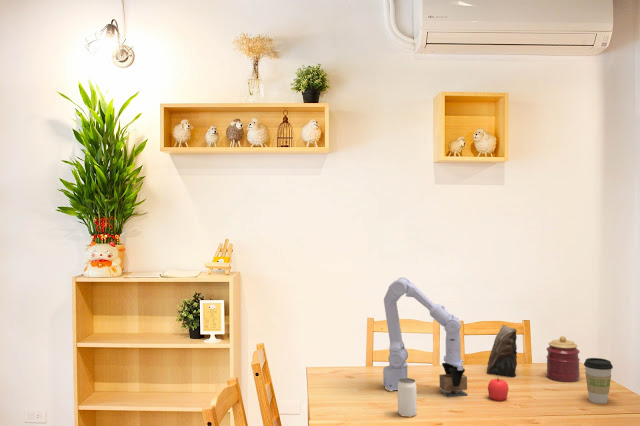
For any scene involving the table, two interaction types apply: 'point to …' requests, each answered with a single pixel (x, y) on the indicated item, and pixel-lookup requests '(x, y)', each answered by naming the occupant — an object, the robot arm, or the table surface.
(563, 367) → the canister
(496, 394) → the apple
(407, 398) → the can
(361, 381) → the table surface
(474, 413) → the table surface
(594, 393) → the coffee cup
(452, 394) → the panel
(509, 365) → the rock
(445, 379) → the walnut link
